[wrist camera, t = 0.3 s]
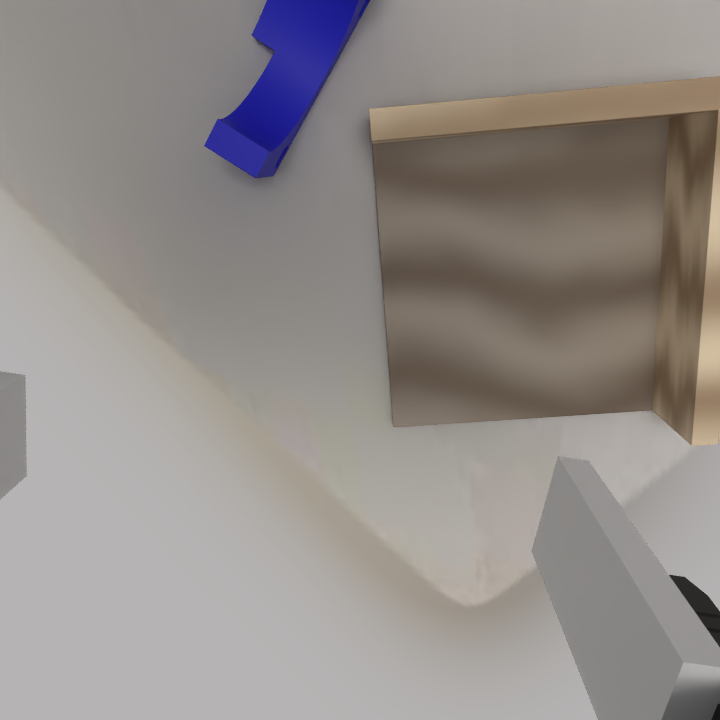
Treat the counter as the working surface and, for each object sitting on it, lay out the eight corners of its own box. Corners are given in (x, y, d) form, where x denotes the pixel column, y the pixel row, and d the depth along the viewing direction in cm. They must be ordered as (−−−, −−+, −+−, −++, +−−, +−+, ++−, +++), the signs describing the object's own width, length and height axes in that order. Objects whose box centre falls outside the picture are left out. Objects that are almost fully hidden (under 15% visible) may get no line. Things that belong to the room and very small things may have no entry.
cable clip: (309, -64, 34) (295, -110, 28) (379, -15, 35) (379, -51, 29) (208, 134, 37) (177, 129, 32) (273, 176, 38) (255, 178, 32)
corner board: (370, 117, 37) (369, 108, 31) (693, 87, 36) (753, 73, 30) (393, 423, 42) (395, 464, 37) (671, 405, 41) (718, 444, 36)
